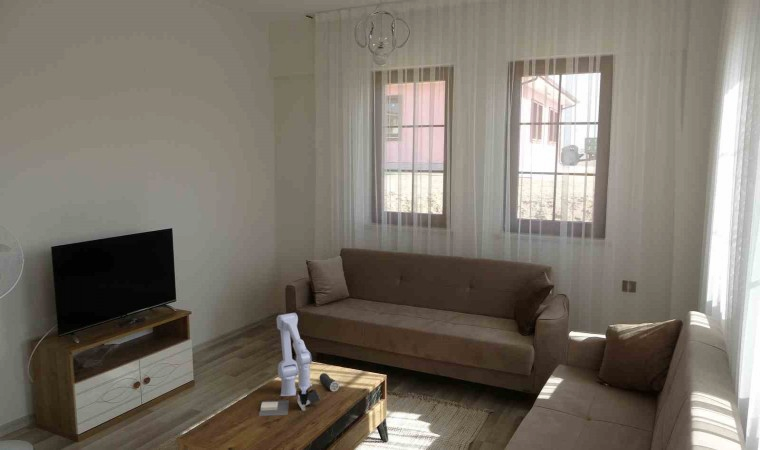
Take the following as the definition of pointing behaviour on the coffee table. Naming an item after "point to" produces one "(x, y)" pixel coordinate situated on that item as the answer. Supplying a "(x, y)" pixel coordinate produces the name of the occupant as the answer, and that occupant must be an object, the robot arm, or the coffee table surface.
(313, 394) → the mounted block
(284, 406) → the mat
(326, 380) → the flashlight
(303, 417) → the coffee table surface
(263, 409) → the cream rectangular block
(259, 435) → the coffee table surface
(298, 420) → the coffee table surface
